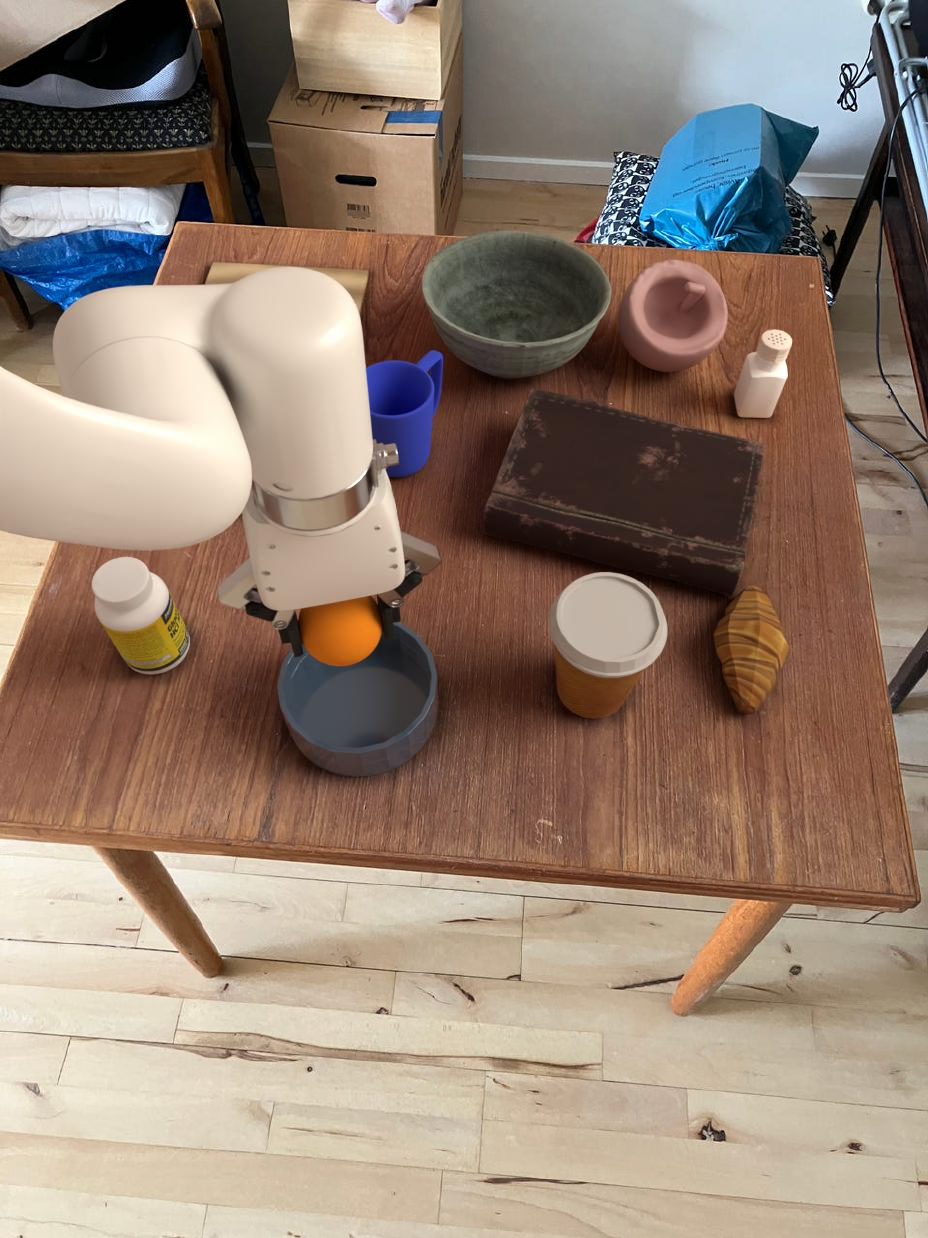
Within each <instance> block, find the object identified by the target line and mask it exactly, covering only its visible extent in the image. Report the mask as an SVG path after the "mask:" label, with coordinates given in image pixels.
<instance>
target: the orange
mask: <svg viewBox="0 0 928 1238" xmlns="http://www.w3.org/2000/svg"><path fill="white" fill-rule="evenodd" d="M297 619H298V629H299V634H300V639H301V641H302V644H303V645H304V647H305V648H306V650H307V651H308V652H309V653H310V654H311V655H312V656H313V657H314V658H316V659H317V660H319V661H320V662H322V663H325V664H328V665H332V666H349V665H353V664H356V663H358V662H360V661H362V660H363V659H365V658H366V657H367V656H369V655H370V654H371V653H372V651H373V650H374V649H375V648H376V646H377V644H378V642H379V640H380V637H381V634H382V617H381V612H380V609H379V607H378V603H377V600H375V598H374V596H373V595H370V596H366V597H361V598H355V599H350V600H345V601H340V602H334V603H329V604H323V605H318V606H312V607H306V608H301V609H299V613H298V616H297Z"/></svg>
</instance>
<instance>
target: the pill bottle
mask: <svg viewBox="0 0 928 1238" xmlns="http://www.w3.org/2000/svg"><path fill="white" fill-rule="evenodd" d="M91 590H92V593H93V594H94V596H95V599H94V611H95V614H96V617H97V619H98V621H99V623H100V624H101V625H102V628H103V629H104V630H105V631H106V633H107V635H108V637H109V638H110V639H111V641H112V643H113V644H114V646H115V649H117V651H118V652H119V654H120V656H121V658H122V659H123V661H124V662H125V663H126V665H127V666H128V667H129V668H131V669H132V670H133V671H135V672H137V673H139V674H144V675H159V674H164V673H166V672H168V671H171V670H172V669H174V668H176V667H177V666H179V664H180V663H182V662H183V660H184V659H185V657H186V656H187V655H188V652H189V650H190V646H191V637H190V633H189V630H188V628H187V626H186V624H185V622H184V620H183V618H182V615H181V614H180V611H179V609H178V608H177V607H178V606H177V605H176V603H175V601H174V599H173V596H172V595H171V592H170V590H169V588H168V586H167V585H166V583H165V582H164V580H163V579H162V578H161V577H160V576H158V575H157V574H156V573H153V572H152V571H151V572H150V570H149V568H148V566H147V565H146V564H145V563H144V561H142V560H140V559H138V558H135V557H132V556H131V557H130V556H120V557H115V558H112V559H110V560H108V561H106V562H104V563H103V564H102V565H100V566H99V568H98V569H97V570H95V572H94V573H93V577H92V579H91Z"/></svg>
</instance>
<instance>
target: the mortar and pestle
mask: <svg viewBox="0 0 928 1238" xmlns="http://www.w3.org/2000/svg"><path fill="white" fill-rule="evenodd" d="M617 313H618V315H617V326H618V332H619V336H620V338H621V341H622V344H623V345H624V348H625V349H626V350H627V352H628V353H629V354H630V356H631V357H632V358H633V359H634V360H635V361H637V362H638V363H639V364H640V365H642V366H644V367H645V368H648V369H650V370H653V371H655V372H656V371H657V372H662V373H663V372H664V373H676V372H682V371H686V370H688V369H690V368H694V367H695V366H696V365H698V364H700V363H701V362H703V361H705V359H707V358H708V357H709V356H710V355H712V353H713V352H714V350H715V349H716V348H717V347H718V345H719V344H720V342H721V341H722V340H723V338H724V336H725V333H726V330H727V326H728V318H729V313H728V304H727V300H726V297H725V295H724V291H723V290H722V288H721V286H720V284H719V282H717V279H715V277H714V276H713V275H712V274H711V273H710V272H709V271H707V269H705V268H704V267H702V266H700V265H699V264H697V263H694V262H691V261H687V260H679V259H672V258H669V259H663V260H661V261H658V262H657V261H656V262H654V263H652V264H650V265H649V266H647V267H646V268H644V269H643V270H641V271H640V272H639V273H638V274H637V275H635V277H634V278H633V279H632V280H631V282H630V283H629V284H628V286H627V287H626V289H625V290H624V293H623V295H622V297H621V300H620V304H619V308H618V312H617Z"/></svg>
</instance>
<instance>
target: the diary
mask: <svg viewBox="0 0 928 1238" xmlns="http://www.w3.org/2000/svg"><path fill="white" fill-rule="evenodd" d="M522 408H523V409H522V410H521V412H520V415H519V418H518V421H517V423H516V425H515V428H514V430H513V433H512V435H511V438H510V440H509V443H508V445H507V448H506V450H505V454H504V456H503V458H502V461H501V464H500V467H499V470H498V472H497V475H496V477H495V480H494V481H493V482H494V483H493V486H492V488H491V491H490V493H489V496H488V498H487V500H486V503H485V506H484V511H483V516H482V527H481V529H482V532H483V534H484V535H486V536H489V537H495V538H498V539H504V540H507V541H512V542H517V543H521V544H526V545H529V546H533V547H534V546H535V547H538V548H541V549H547V550H551V551H554V552H559V553H562V554H566V555H569V556H573V557H576V558H580V559H583V560H587V561H590V562H595V563H599V564H601V565H605V566H609V567H613V568H619V569H622V570H627V571H630V572H631V571H632V572H636V573H641V574H645V575H649V576H652V577H653V576H654V577H658V578H662V579H667V580H670V581H675V582H677V583H681V584H684V585H689V586H692V587H695V588H698V589H703V590H706V591H709V592H712V593H716V594H720V595H723V596H728V597H732V596H733V594H734V593H735V591H736V588H737V586H738V585H739V582H740V580H741V577H742V574H743V572H744V568H745V563H746V557H747V551H748V544H749V540H750V534H751V529H752V523H753V519H754V513H755V507H756V502H757V496H758V491H759V486H760V480H761V476H762V475H761V473H762V467H763V462H764V457H765V456H764V455H765V449H766V442H762V441H758V440H752V439H748V438H743V437H739V436H736V435H731V434H726V433H721V432H717V431H713V430H707V429H703V428H699V427H694V426H691V425H685V424H681V423H676V422H672V421H667V420H662V419H658V418H653V417H649V416H645V415H642V414H639V413H636V412H632V411H628V410H625V409H622V408H618V407H614V406H612V405H611V406H610V405H607V404H605V403H604V404H603V403H600V402H597V401H593V400H589V399H584V398H579V397H574V396H570V395H565V394H561V393H556V392H552V391H547V390H543V389H538V388H533V387H531V388H530V390H529V393H528V395H527V398H526V400H525V402H524V405H523V407H522Z"/></svg>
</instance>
